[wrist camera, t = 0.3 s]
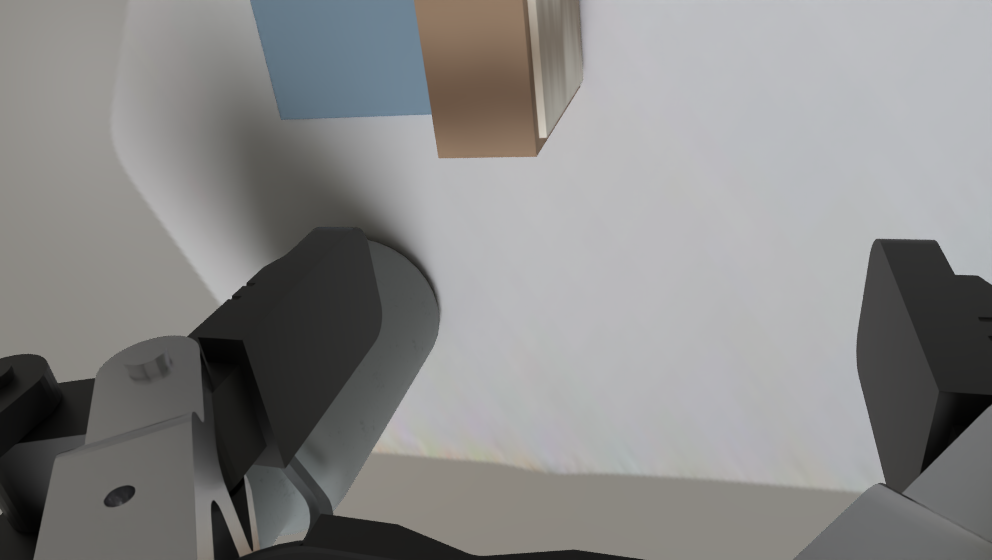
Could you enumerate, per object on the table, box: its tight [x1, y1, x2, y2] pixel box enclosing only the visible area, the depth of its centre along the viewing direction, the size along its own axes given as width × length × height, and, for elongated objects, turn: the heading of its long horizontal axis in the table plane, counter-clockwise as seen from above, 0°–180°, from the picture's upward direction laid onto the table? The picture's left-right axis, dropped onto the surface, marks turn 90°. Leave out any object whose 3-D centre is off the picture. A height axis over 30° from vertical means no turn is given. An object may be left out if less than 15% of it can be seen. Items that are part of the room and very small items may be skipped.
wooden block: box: [414, 0, 583, 158], centre depth 31 cm, size 8×4×10 cm, turn 7°
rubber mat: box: [250, 0, 432, 120], centre depth 37 cm, size 10×12×1 cm
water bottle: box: [246, 240, 440, 549], centre depth 35 cm, size 10×10×28 cm
